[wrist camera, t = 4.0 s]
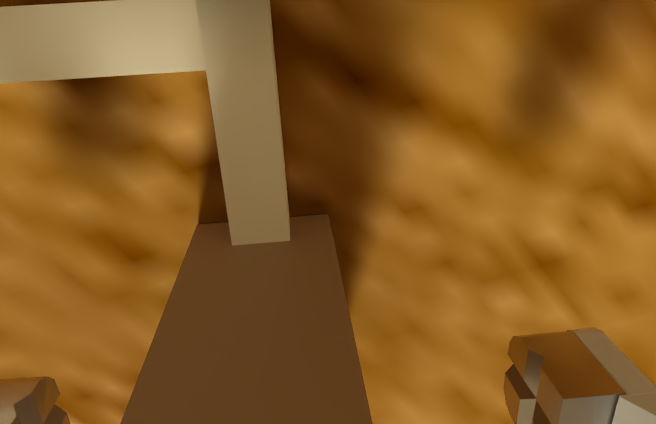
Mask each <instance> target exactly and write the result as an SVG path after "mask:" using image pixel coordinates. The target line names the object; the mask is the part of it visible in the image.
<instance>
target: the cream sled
mask: <svg viewBox="0 0 656 424" xmlns="http://www.w3.org/2000/svg"><path fill="white" fill-rule="evenodd" d="M203 70H206V74H207V81H208V88H209V94H210V101H211V108H212V115H213V121H214V128H215V135H216V141H217V148H218V155H219V162H220V168H221V175H222V182H223V188H224V195H225V202H226V209H227V215H228V222H222V223H210V224H198V225H197V227H196V229H195V232H194V235H193V237H192V240H191V242H190V245H189V248H188V250H187V253H186V255H185V258H184V261H183V263H182V266H181V268H180V271H179V273H178V276H177V279H176V281H175V284H174V286H173V289H172V292H171V294H170V297H169V299H168V302H167V304H166V307H165V310H164V312H163V315H162V317H161V320H160V323H159V325H158V328H157V330H156V333H155V336H154V338H153V341H152V343H151V346H150V348H149V351H148V354H147V356H146V359H145V361H144V364H143V367H142V369H141V372H140V374H139V377H138V380H137V382H136V385H135V387H134V390H133V392H132V395H131V398H130V400H129V403H128V405H127V408H126V411H125V413H124V416H123V418H122V421H121V424H372V420H371V415H370V410H369V405H368V400H367V396H366V391H365V386H364V381H363V376H362V372H361V367H360V362H359V357H358V353H357V348H356V343H355V338H354V333H353V329H352V324H351V319H350V314H349V309H348V305H347V300H346V295H345V290H344V285H343V281H342V276H341V271H340V266H339V262H338V257H337V252H336V247H335V242H334V238H333V233H332V228H331V223H330V218H329V214H321V215H309V216H296V217H290V216H289V205H288V194H287V183H286V172H285V161H284V151H283V140H282V129H281V118H280V107H279V96H278V85H277V74H276V63H275V53H274V42H273V31H272V20H271V9H270V0H114V1H96V2H78V3H60V4H41V5H23V6H5V7H0V83H15V82H30V81H46V80H62V79H77V78H93V77H109V76H125V75H140V74H156V73H172V72H187V71H203Z"/></svg>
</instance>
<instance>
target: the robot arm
mask: <svg viewBox="0 0 656 424" xmlns="http://www.w3.org/2000/svg"><path fill="white" fill-rule="evenodd" d="M508 355H509V357H510V358H511V360H512V362H513V363H514V364H513V365H512V366H511V367H510V368H509V369H508V371H507V372H506V373H505V379H504V393H505V400H506V405H507V407H508V410H509V413H510V416H511V418H512V420H513V421H514V423H515V424H656V387H655V386H654V385H653V384H652V383H651V382H650V381H649V380H648V379H647V378H646V377H645V376H644V375H643V373H642V372H641V371H640V370H639V369H638V368H637V367H636V366H635V365H634V364H633V363H632V362H631V361H630V360H629V359H628V358H627V357H626V356H625V355H624V354H623V353H622V352H621V351H620V350H619V348H618V347H617V346H616V345H615V344H614V343H613V342H612V341H611V340H610V339H609V338H608V337H607V336H606V335H605V334H604V333H603V332H602V331H601V330H599V329H596V328H585V329H576V330H567V331H563V332H552V333H541V334H530V335H520V336H513V337H512V339H511V341H510V343H509V349H508ZM59 395H60V392H59V390H58V388H57V385H56V383H55V380H54V379H52V378H49V377H30V378H15V379H0V424H70V421H69V418H68V415H67V413H66V412H65V411H63V410H62V409H61V408H59V407H58V406H56V405H55V402H56V400H57V398H58V396H59Z"/></svg>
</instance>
